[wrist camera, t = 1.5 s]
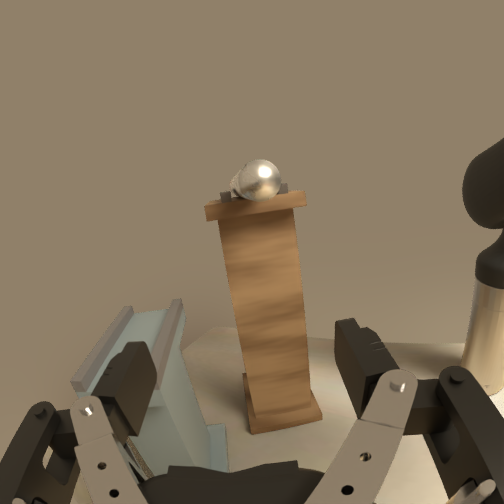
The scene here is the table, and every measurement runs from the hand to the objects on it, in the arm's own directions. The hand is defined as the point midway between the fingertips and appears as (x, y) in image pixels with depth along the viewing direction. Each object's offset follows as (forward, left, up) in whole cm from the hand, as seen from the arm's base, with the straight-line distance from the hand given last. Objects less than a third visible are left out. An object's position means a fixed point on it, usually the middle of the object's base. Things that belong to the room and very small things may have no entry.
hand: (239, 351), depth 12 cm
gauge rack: (+2, -16, -25) cm, 30 cm away
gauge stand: (-16, -20, -25) cm, 36 cm away
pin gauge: (-14, -16, +5) cm, 22 cm away
